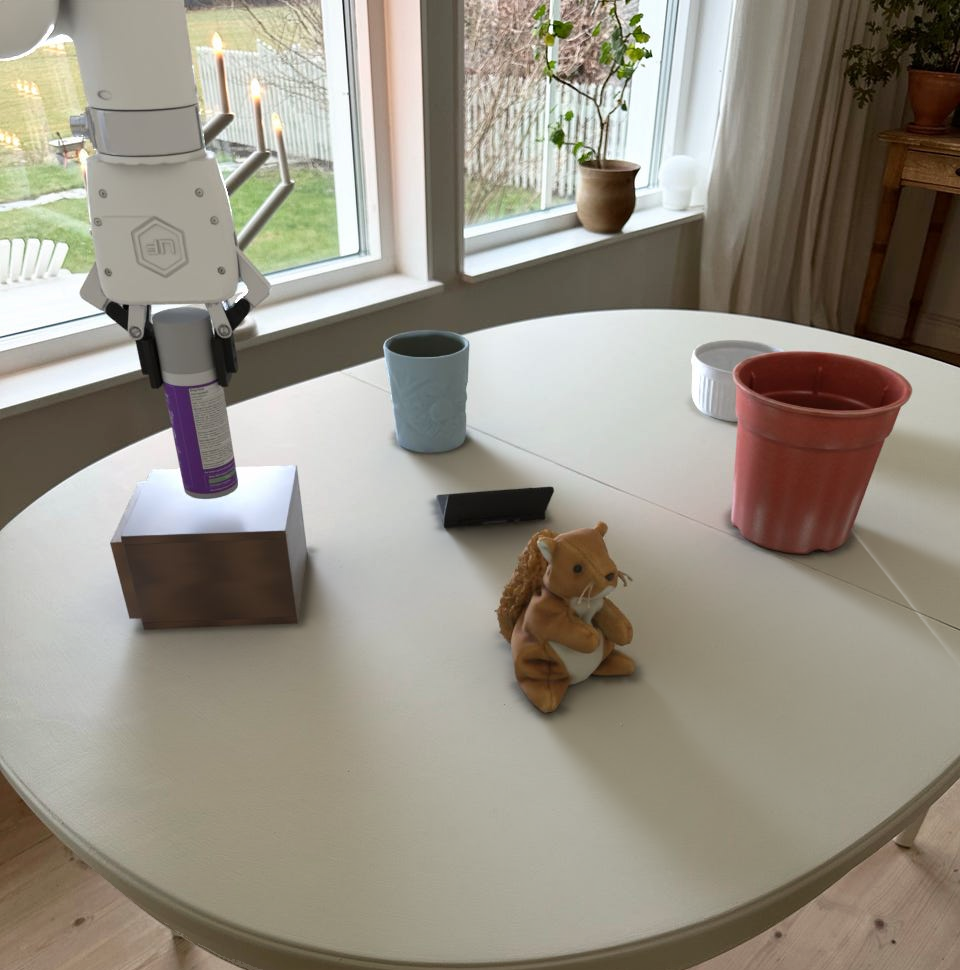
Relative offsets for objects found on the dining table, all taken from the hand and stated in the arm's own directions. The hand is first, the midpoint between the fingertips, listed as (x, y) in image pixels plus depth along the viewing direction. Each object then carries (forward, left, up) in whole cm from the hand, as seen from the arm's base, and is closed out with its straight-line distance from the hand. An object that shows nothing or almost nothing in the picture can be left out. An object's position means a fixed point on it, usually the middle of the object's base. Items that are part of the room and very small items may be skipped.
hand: (192, 379), depth 78 cm
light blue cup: (+20, +33, -21) cm, 44 cm away
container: (0, 0, -10) cm, 10 cm away
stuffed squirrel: (+29, -13, -21) cm, 38 cm away
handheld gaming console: (+26, +12, -21) cm, 35 cm away
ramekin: (+61, +40, -21) cm, 76 cm away
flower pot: (+57, +8, -21) cm, 61 cm away
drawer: (-2, 0, -20) cm, 20 cm away
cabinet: (0, 0, -20) cm, 20 cm away
